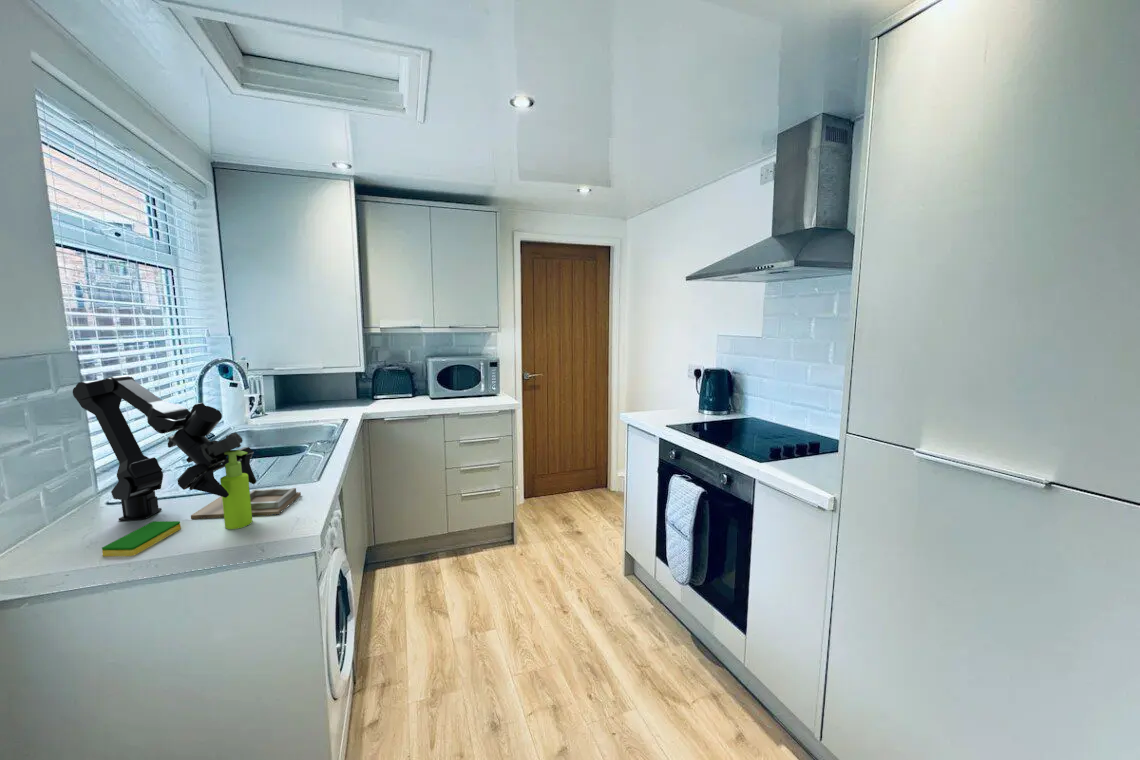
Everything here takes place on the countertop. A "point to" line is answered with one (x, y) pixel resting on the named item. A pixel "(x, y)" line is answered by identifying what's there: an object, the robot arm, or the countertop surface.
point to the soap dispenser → (236, 493)
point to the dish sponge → (141, 538)
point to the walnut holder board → (254, 503)
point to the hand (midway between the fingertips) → (241, 489)
